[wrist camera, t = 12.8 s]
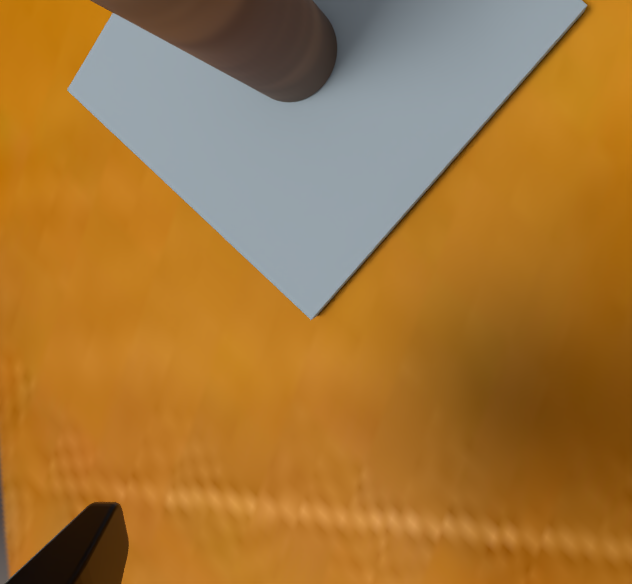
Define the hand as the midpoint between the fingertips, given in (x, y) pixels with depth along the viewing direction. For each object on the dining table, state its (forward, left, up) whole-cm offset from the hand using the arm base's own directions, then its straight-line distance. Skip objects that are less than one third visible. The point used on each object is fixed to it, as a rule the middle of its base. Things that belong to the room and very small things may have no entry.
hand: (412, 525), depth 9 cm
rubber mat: (+10, -4, -10) cm, 15 cm away
